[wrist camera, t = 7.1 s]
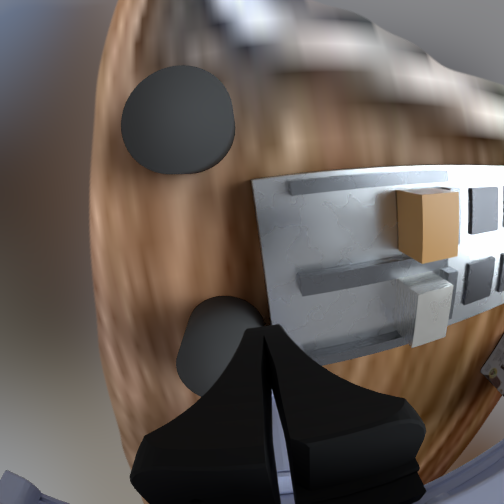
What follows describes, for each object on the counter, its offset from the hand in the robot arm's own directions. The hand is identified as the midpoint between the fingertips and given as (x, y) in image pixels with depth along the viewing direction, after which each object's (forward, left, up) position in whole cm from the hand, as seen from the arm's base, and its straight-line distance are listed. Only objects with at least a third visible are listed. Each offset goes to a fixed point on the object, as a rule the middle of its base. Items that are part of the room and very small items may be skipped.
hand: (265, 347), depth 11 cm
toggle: (-4, -11, -7) cm, 14 cm away
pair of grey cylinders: (+4, +1, -10) cm, 11 cm away
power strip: (-8, -11, -10) cm, 17 cm away
